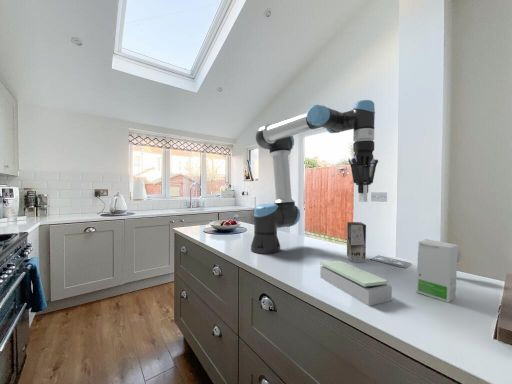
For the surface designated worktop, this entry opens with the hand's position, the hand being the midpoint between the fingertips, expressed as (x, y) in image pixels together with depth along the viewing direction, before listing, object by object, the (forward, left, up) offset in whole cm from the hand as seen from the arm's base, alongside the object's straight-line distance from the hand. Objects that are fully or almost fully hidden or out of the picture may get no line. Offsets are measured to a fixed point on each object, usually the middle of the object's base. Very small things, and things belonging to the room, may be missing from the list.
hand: (363, 201), depth 92 cm
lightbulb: (+18, +22, -27) cm, 39 cm away
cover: (+13, -18, -22) cm, 31 cm away
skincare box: (+26, +2, -27) cm, 37 cm away
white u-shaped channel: (+13, -18, -26) cm, 34 cm away
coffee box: (-10, +6, -27) cm, 29 cm away
